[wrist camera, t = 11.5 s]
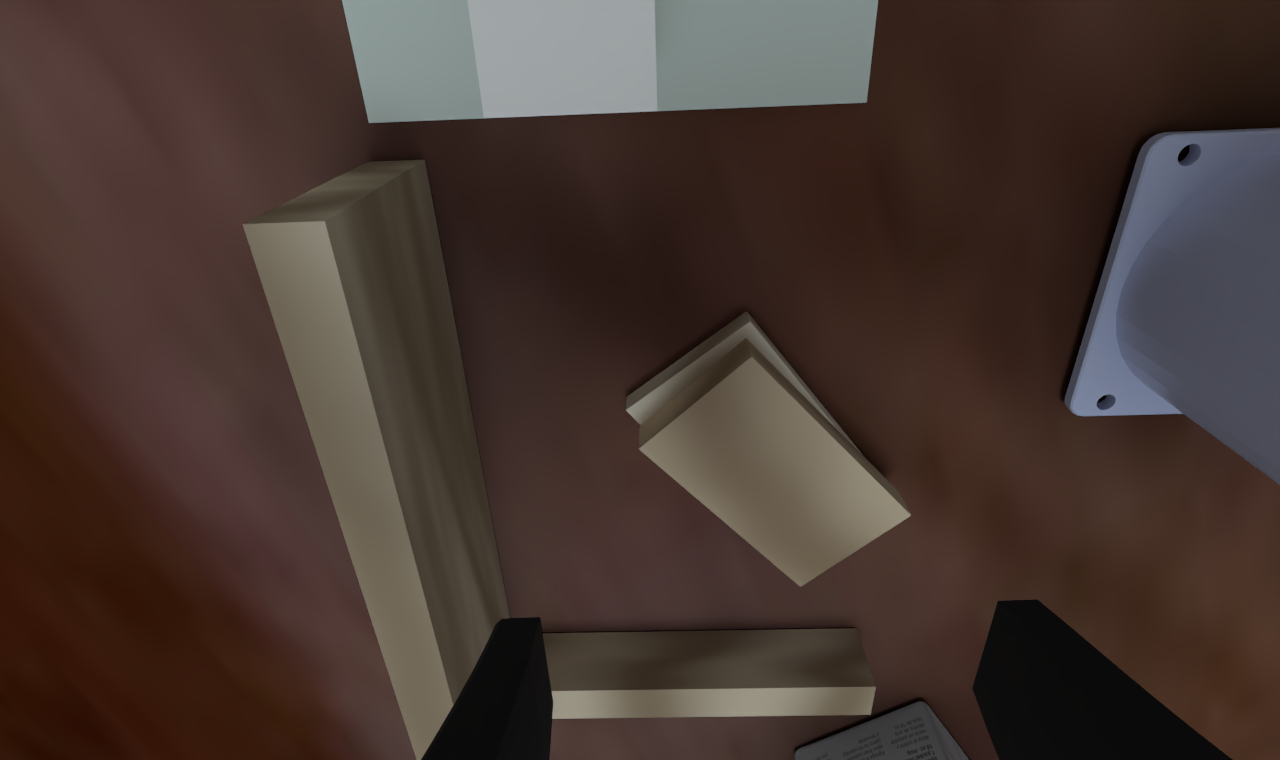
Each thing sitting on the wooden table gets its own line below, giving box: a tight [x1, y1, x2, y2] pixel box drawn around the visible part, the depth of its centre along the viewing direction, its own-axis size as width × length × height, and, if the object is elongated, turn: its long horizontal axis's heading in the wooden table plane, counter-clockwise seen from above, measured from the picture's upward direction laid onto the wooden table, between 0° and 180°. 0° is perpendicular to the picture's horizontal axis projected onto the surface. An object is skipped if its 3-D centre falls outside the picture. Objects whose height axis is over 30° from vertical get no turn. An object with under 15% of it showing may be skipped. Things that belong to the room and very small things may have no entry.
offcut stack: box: [626, 311, 911, 587], centre depth 21 cm, size 5×8×2 cm, turn 40°
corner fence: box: [243, 159, 876, 760], centre depth 19 cm, size 14×19×6 cm
